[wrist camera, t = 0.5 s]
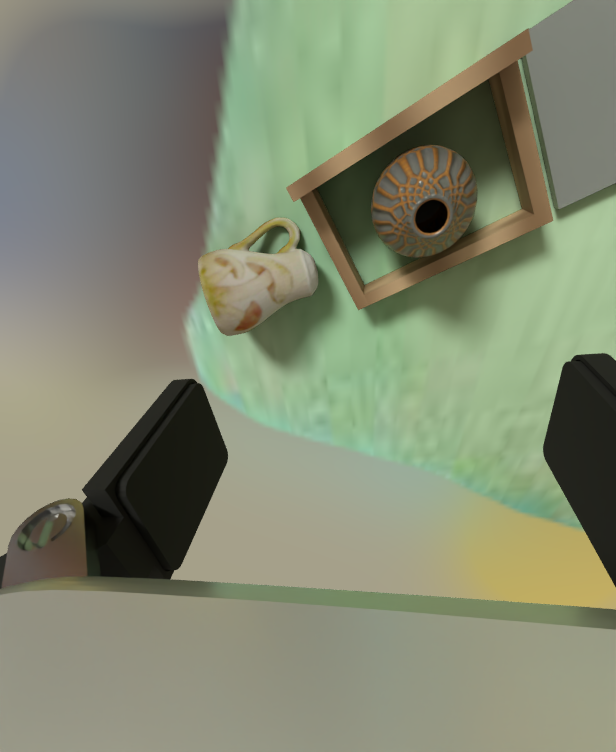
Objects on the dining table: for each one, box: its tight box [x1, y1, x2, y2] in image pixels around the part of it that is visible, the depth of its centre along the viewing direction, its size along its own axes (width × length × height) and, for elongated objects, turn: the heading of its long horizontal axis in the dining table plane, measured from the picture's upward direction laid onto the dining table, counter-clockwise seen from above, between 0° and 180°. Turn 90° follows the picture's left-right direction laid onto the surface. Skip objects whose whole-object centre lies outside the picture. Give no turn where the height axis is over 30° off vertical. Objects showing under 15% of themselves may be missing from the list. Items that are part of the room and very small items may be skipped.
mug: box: [198, 218, 318, 336], centre depth 31 cm, size 8×10×10 cm
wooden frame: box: [286, 29, 553, 310], centre depth 26 cm, size 15×11×5 cm
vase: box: [371, 145, 477, 257], centre depth 24 cm, size 7×7×9 cm
